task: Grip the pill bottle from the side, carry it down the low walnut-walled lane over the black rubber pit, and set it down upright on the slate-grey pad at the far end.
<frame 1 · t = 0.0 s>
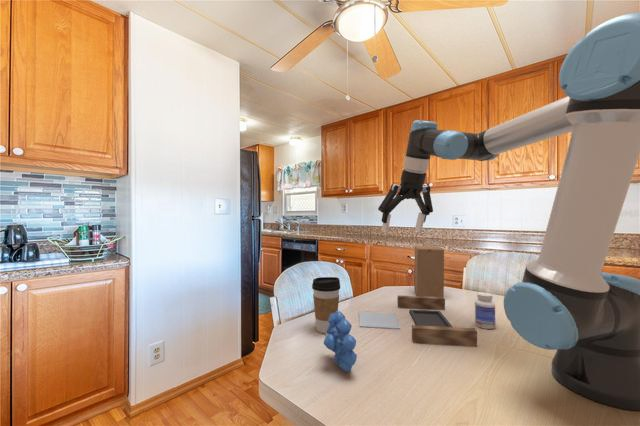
hand: (401, 231, 100), 28 cm above the table, tool tilted 20°, fingers open, 13 cm apart
wooden block: (428, 296, 118), on the table
coffee cup: (326, 329, 85), on the table
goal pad: (378, 320, 92), on the table
pill bottle: (484, 326, 88), on the table
grapes: (337, 367, 65), on the table
walnut lane walls: (430, 323, 90), on the table
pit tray: (430, 323, 90), on the table
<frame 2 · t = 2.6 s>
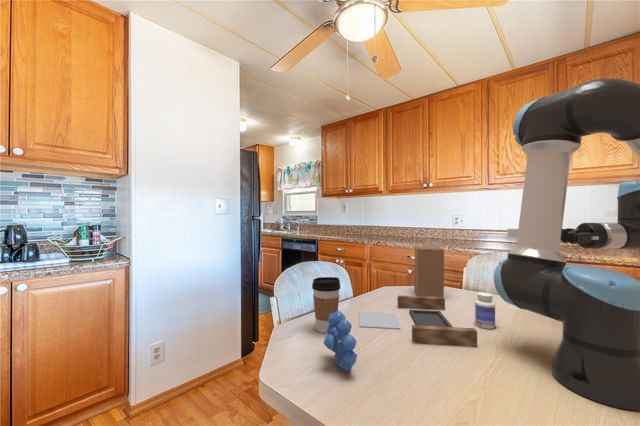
hand: (519, 234, 86), 28 cm above the table, tool horizontal, fingers open, 13 cm apart
nothing on the table moved.
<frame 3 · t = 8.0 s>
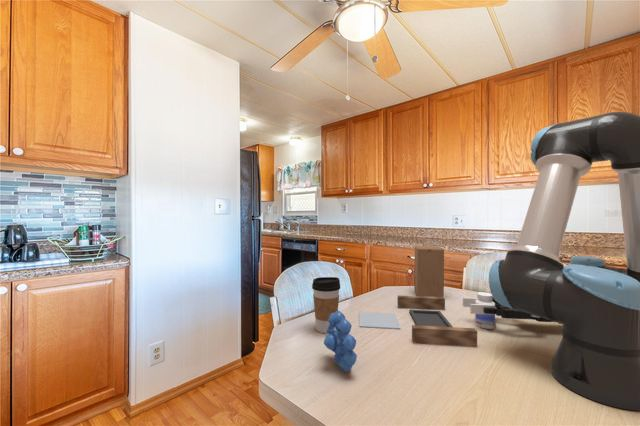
hand: (467, 305, 88), 6 cm above the table, tool horizontal, fingers closed on pill bottle, 5 cm apart
pill bottle: (484, 326, 88), on the table, touching gripper
everything else where it was.
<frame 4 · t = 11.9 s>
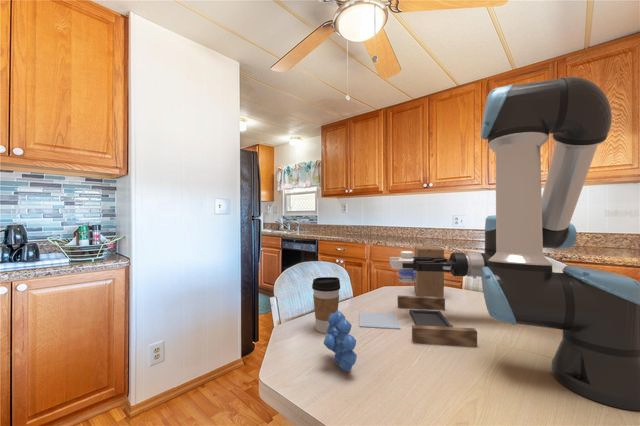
hand: (390, 262, 95), 18 cm above the table, tool horizontal, fingers closed on pill bottle, 5 cm apart
pill bottle: (407, 282, 95), point 12 cm above the table, touching gripper
everything else where it was.
when the fingers open (7 cm above the table, at t = 15.9 s): pill bottle stays where it is, resting on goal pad.
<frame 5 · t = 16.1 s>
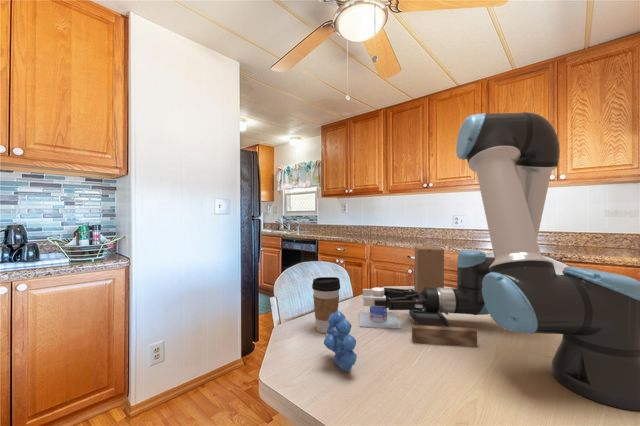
hand: (363, 297, 92), 7 cm above the table, tool horizontal, fingers open, 8 cm apart
pill bottle: (378, 319, 92), resting on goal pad
everything else where it was.
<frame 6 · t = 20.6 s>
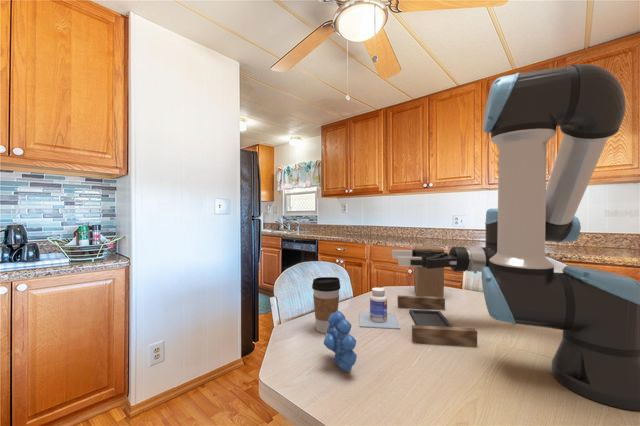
hand: (394, 257, 91), 20 cm above the table, tool horizontal, fingers open, 13 cm apart
nothing on the table moved.
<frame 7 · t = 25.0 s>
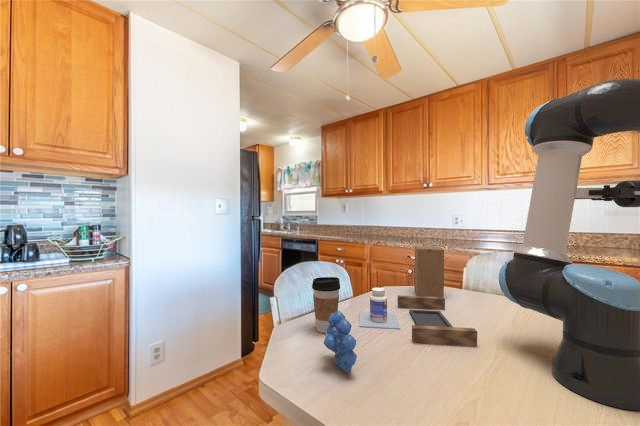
hand: (556, 194, 84), 40 cm above the table, tool horizontal, fingers open, 13 cm apart
nothing on the table moved.
at the end: pill bottle inside the target area on the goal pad (0.0 cm from its centre), point 0.1 cm above the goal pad's base; pill bottle tilted 0°; pill bottle touching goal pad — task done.
